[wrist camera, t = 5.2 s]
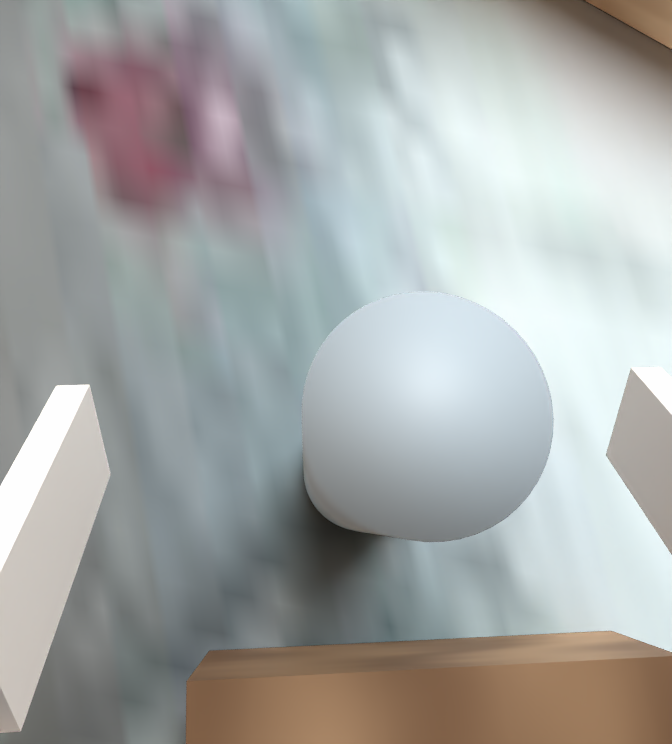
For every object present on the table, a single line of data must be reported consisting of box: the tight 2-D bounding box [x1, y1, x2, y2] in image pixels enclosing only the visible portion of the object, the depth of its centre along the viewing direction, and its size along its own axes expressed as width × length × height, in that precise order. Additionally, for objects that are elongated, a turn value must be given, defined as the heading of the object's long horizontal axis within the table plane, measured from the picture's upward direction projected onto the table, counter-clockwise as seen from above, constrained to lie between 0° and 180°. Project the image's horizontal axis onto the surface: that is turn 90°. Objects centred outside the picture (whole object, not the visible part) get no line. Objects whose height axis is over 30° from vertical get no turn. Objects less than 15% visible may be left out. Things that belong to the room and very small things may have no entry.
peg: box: [302, 292, 553, 542], centre depth 16 cm, size 4×4×12 cm
